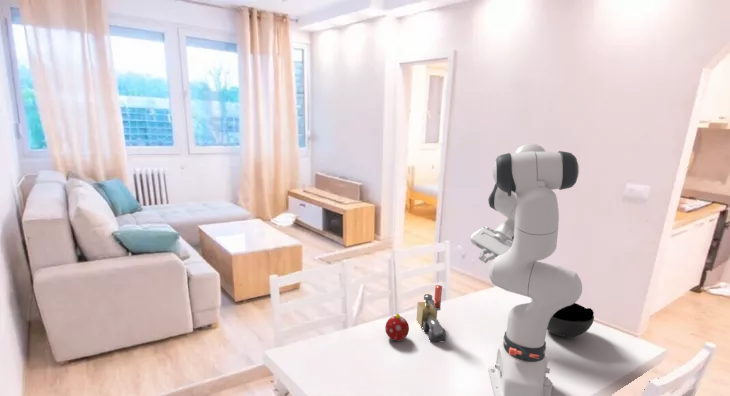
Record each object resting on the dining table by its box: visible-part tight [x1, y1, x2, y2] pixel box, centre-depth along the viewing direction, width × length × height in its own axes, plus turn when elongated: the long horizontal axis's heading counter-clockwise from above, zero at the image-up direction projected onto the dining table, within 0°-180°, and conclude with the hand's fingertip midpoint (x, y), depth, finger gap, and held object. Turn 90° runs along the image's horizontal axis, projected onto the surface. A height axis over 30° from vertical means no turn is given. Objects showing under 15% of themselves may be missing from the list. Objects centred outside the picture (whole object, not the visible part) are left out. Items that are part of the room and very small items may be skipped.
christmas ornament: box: [384, 313, 410, 342], centre depth 138 cm, size 9×9×10 cm
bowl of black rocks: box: [547, 302, 595, 338], centre depth 146 cm, size 20×20×19 cm
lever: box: [423, 284, 443, 312], centre depth 144 cm, size 11×3×10 cm, turn 15°
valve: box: [416, 301, 447, 343], centre depth 144 cm, size 16×6×10 cm, turn 11°
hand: (481, 260), depth 144 cm, fingers closed
